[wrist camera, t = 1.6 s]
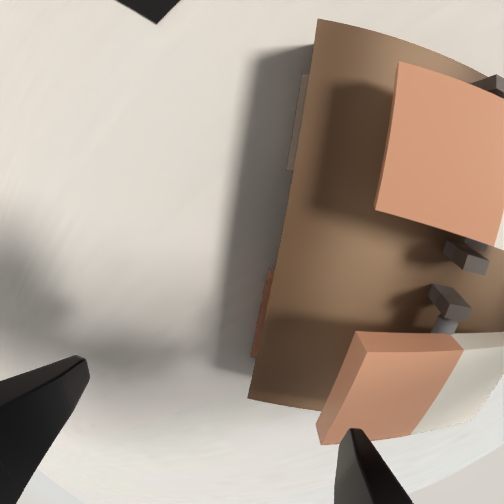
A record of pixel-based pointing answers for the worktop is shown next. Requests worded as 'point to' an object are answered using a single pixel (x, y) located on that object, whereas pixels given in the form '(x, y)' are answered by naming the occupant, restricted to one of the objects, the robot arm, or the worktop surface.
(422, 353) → the block
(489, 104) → the rocker
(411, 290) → the switch unit
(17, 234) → the worktop surface
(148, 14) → the white and black block
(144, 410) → the worktop surface
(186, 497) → the worktop surface
